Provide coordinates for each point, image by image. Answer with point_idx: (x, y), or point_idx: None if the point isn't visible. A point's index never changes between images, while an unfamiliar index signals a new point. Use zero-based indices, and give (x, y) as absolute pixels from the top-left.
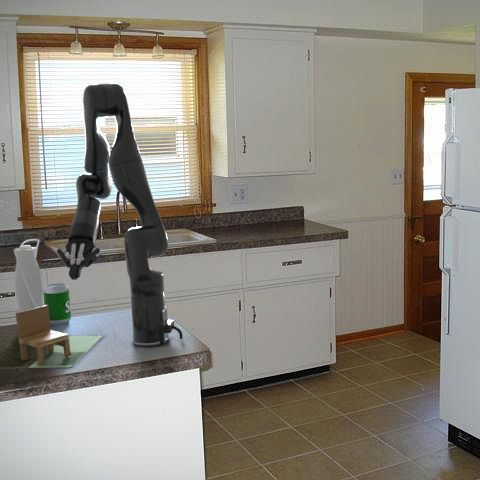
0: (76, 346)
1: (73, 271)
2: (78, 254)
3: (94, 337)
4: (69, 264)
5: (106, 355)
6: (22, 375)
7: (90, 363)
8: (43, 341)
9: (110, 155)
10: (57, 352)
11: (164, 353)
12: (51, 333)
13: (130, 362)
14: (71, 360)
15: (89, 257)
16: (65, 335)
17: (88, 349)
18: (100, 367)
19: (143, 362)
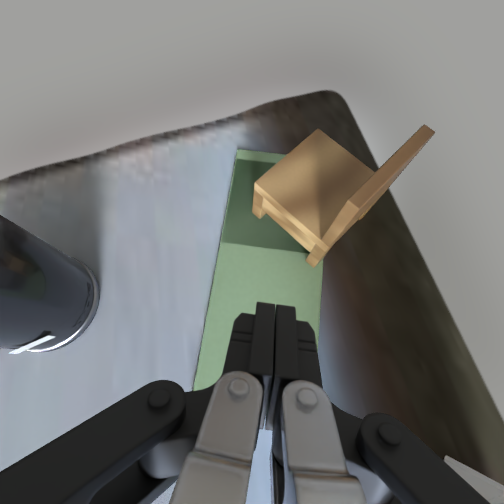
0: (254, 294)
1: (276, 326)
2: (237, 496)
3: (216, 379)
4: (340, 415)
5: (168, 215)
6: (326, 126)
7: (200, 169)
8: (307, 139)
9: None
10: (293, 250)
11: (32, 205)
12: (308, 203)
13: (113, 161)
14: (244, 187)
15: (83, 439)
16: (261, 176)
17: (217, 261)
18: (176, 143)
19: (86, 156)
